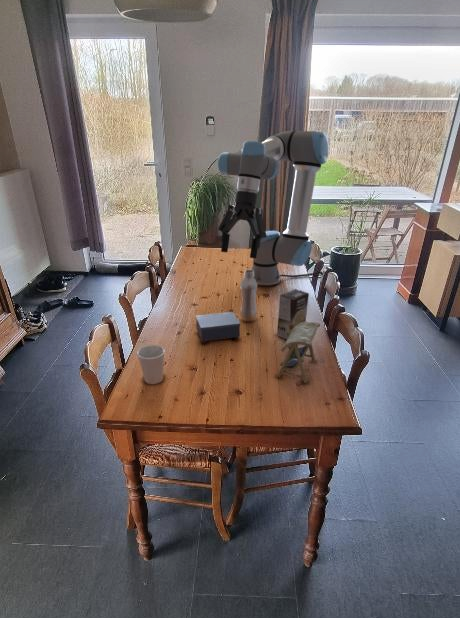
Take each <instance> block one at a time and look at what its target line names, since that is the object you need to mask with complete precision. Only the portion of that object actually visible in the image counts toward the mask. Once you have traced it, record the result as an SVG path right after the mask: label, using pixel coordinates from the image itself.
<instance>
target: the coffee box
mask: <svg viewBox="0 0 460 618" xmlns="http://www.w3.org/2000/svg"><path fill="white" fill-rule="evenodd" d="M309 296H310V293H309V292H306V291H303V290H300V289H296V288H295V289H292V290H290V291H287V292H284V293H281V294H279V302H278V303H279V304H278V315H277V316H278V317H277V328H276V329H277V330H276V336H278V337H281V338H282V339H285V340H286V341H287V340H288V338H289V336H290V334H291V332H292V330H293V328H294V327H295V326H296V325H298V324H300V323H302V322H306V321H307V313H308V305H309Z"/></svg>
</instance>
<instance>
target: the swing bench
mask: <svg viewBox="0 0 460 618" xmlns="http://www.w3.org/2000/svg"><path fill="white" fill-rule="evenodd" d="M320 326H321V323H319V322H317V321H312V320H311V321H310V320H306V322H302V323H300V324H298V325H296V326H295V327H294V328H293V330H292V332H291V334H290V336H289V338H288V340H287V339H286V341H285V342H284V345H283V346H282V347H281V349H280V351H281V353H283V352H285V350H286V349H288V352H287V353H286V355H285V357H284V359H283V361H280V362H279V366H280V369H279V371H278V373H277V375H276V376H277V378H281V377H282V375H284V376H285V375H286V376H290V377H294V378H299V379H302V381H303V383H304V384H307V383H308V380H307V376H306V372H305V368H304V365H303V363H304V362H305V359H304V358H305V357H307V358H311V362H312V363H315V362H316V357H315V354H314V349H313V348H314V347H313V339H314V337H315V336H316V334H317V331H318V328H319V327H320ZM299 345H301V347H299ZM308 350H309V353H310V354H308ZM298 368H299V369H300V373H301V374H295V373H290V372H294V371H296V370H297V369H298ZM286 371H287V372H286Z"/></svg>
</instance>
